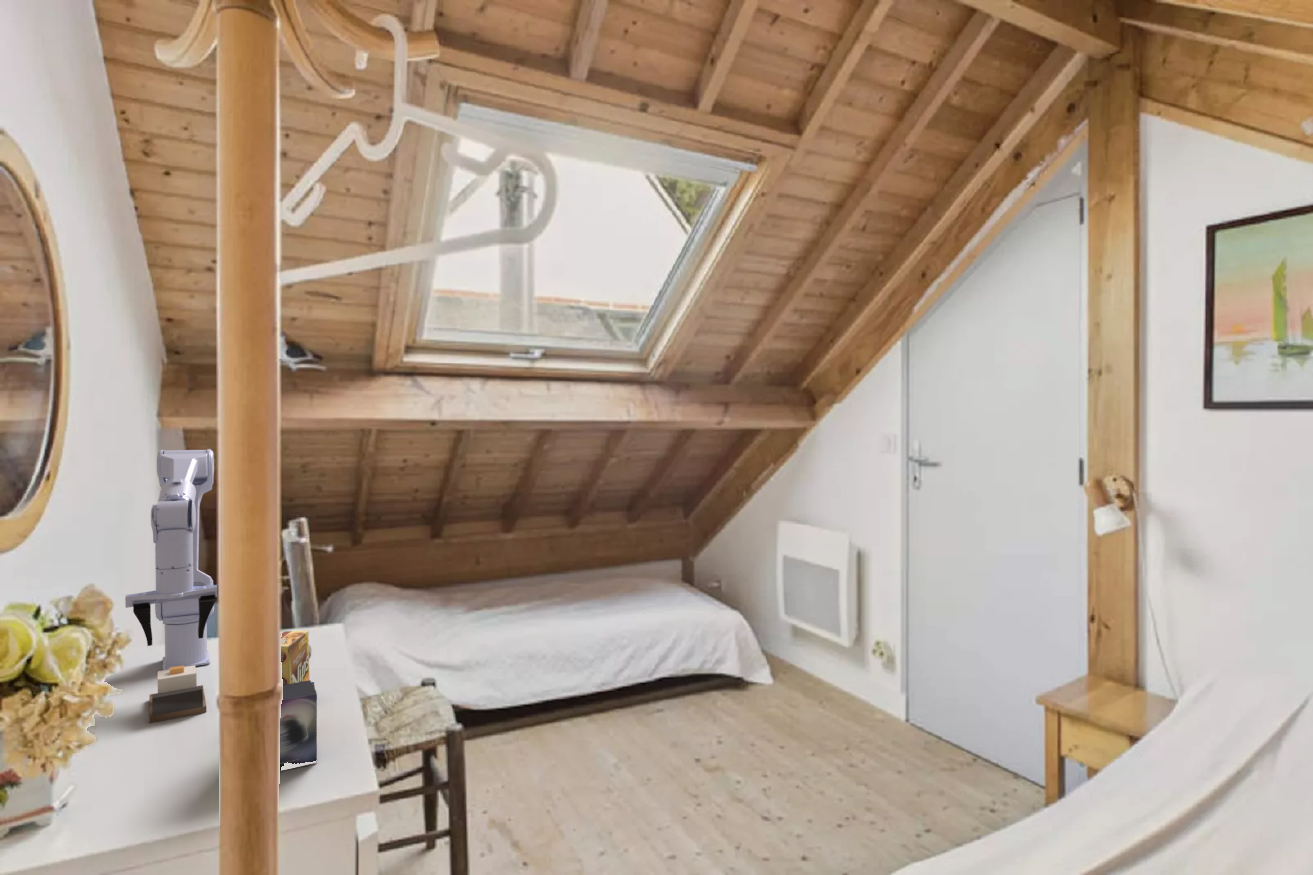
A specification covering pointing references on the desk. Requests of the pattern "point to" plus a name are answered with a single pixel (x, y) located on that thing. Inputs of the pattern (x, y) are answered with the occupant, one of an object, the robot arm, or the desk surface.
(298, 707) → the small box
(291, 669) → the candy box
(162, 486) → the robot arm
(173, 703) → the board
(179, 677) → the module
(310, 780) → the desk surface
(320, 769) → the desk surface
